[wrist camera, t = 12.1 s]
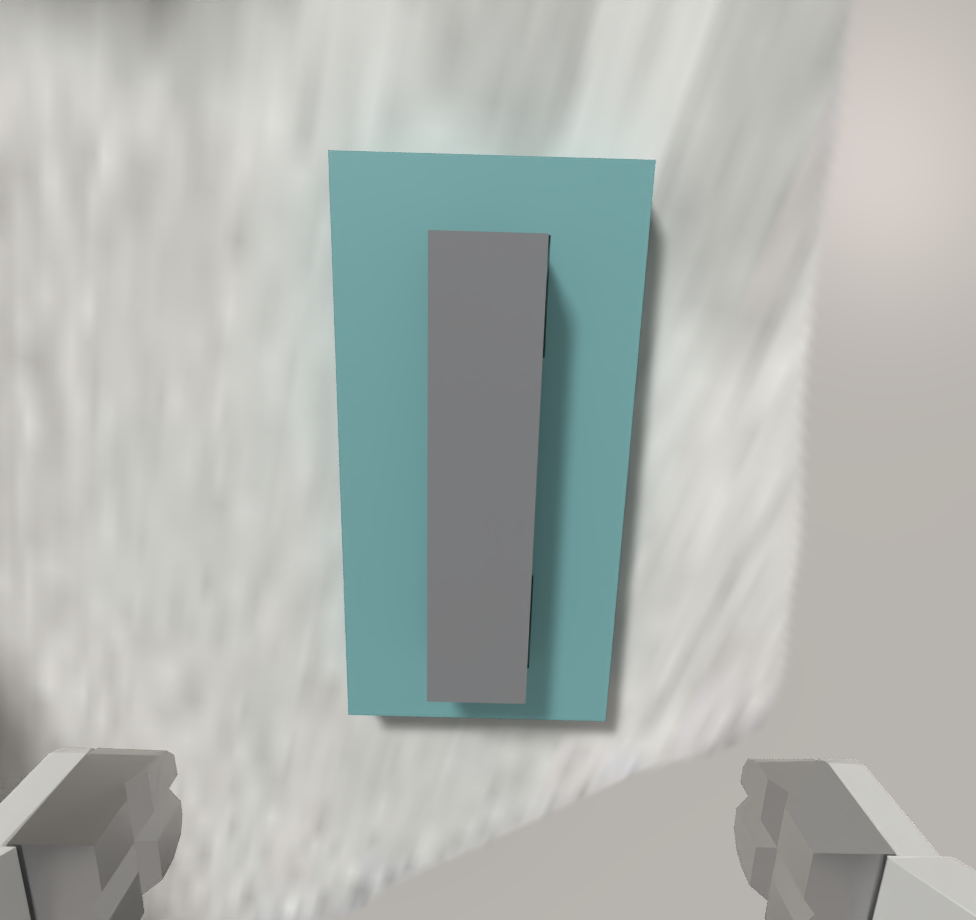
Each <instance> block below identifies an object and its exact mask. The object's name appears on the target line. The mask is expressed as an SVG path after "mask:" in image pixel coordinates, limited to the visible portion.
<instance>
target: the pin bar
mask: <svg viewBox="0 0 976 920" xmlns="http://www.w3.org/2000/svg"><path fill="white" fill-rule="evenodd" d="M548 239H549V233H515V232H480V231H445V230H428V433H427V701H428V702H467V703H507V704H525V702H526V682H527V661H528V641H529V621H530V601H531V581H532V561H533V541H534V521H535V500H536V480H537V460H538V440H539V420H540V400H541V380H542V360H543V339H544V319H545V299H546V279H547V259H548Z"/></svg>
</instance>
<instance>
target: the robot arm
mask: <svg viewBox="0 0 976 920" xmlns="http://www.w3.org/2000/svg"><path fill="white" fill-rule="evenodd" d="M176 776H177V769H176V763H175V757H174V755H173V754H172V753H170V752H168V751H163V750H138V749H112V748H97V749H92V748H68V747H62V748H59V749H57V750H55V751H52V752H50V753H49V754H48V755H47V756H46V757H45V758H44V759H43V760H42V761H41V762H40V763H39V764H38V765H37V766H36V767H35V768H34V769H33V770H32V771H31V772H30V773H29V774H28V775H27V776H26V777H25V778H24V779H23V780H22V782H21V783H20V784H19V785H18V786H17V787H16V788H15V789H14V790H13V791H12V792H11V793H10V794H9V795H8V796H7V797H6V798H5V799H4V800H3V801H2V802H1V803H0V920H140V919H141V917H142V915H143V914H144V907H143V899H142V895H143V894H144V893H145V892H147V891H148V890H149V889H151V888H152V887H153V886H154V885H156V884H157V883H158V882H160V881H161V880H162V879H163V877H164V876H165V874H166V872H167V870H168V868H169V866H170V864H171V862H172V860H173V858H174V855H175V852H176V848H177V845H178V842H179V839H180V835H181V826H182V808H181V801H180V800H179V799H178V798H177V797H176V796H175V795H174V794H173V793H172V791H171V790H170V789H169V787H170V786H171V784H172V783H173V781H174V780H175V778H176ZM741 784H742V786H743V788H744V790H745V791H746V793H747V795H748V797H747V798H746V799H745V800H744V801H743V802H742V803H741V804H740V805H739V806H738V807H737V808H736V816H735V825H734V832H735V840H736V849H737V853H738V856H739V860H740V863H741V867H742V869H743V871H744V874H745V876H746V878H747V880H748V882H749V885H750V886H751V887H752V888H754V889H755V890H756V891H757V892H758V893H759V894H761V895H762V896H763V897H764V898H765V899H766V900H768V902H767V908H766V914H765V919H766V920H976V871H975V870H973V869H972V868H970V867H969V866H967V865H965V864H964V863H962V862H960V861H959V860H957V859H955V858H954V857H941V856H940V855H939V854H938V852H937V851H936V850H935V849H934V848H933V846H932V845H931V844H930V843H929V842H928V840H927V839H926V838H925V837H924V836H923V834H922V833H921V832H920V831H919V830H918V828H916V826H915V825H914V824H913V823H912V821H911V820H910V819H909V818H908V817H907V815H906V814H905V813H904V812H903V811H902V809H901V808H900V807H899V806H898V805H897V804H896V802H895V801H894V800H893V799H892V798H891V796H890V795H889V794H888V793H887V792H886V790H885V789H884V788H883V787H882V786H881V785H880V783H879V782H878V781H877V780H876V779H875V777H874V776H873V775H872V774H871V773H870V771H869V770H868V769H867V768H866V767H865V766H864V765H863V764H862V763H861V762H859V761H857V760H856V759H854V758H831V759H830V758H829V759H828V758H820V759H819V758H818V759H817V760H815V759H748V760H747V761H746V763H745V765H744V766H743V771H742V776H741Z"/></svg>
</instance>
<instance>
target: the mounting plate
mask: <svg viewBox="0 0 976 920" xmlns="http://www.w3.org/2000/svg"><path fill="white" fill-rule="evenodd" d="M328 158H329V186H330V214H331V242H332V270H333V298H334V326H335V353H336V381H337V409H338V437H339V465H340V493H341V521H342V548H343V576H344V604H345V632H346V660H347V688H348V715H376V716H416V717H457V718H497V719H537V720H577V721H606V709H607V698H608V687H609V676H610V665H611V653H612V642H613V631H614V620H615V609H616V597H617V586H618V575H619V564H620V553H621V541H622V530H623V519H624V508H625V497H626V485H627V474H628V463H629V452H630V441H631V429H632V418H633V407H634V396H635V385H636V373H637V362H638V351H639V340H640V329H641V317H642V306H643V295H644V284H645V273H646V261H647V250H648V239H649V228H650V217H651V205H652V194H653V183H654V172H655V161H656V160H639V159H605V158H571V157H538V156H504V155H470V154H436V153H403V152H369V151H335V150H328ZM428 230H445V231H480V232H515V233H549V239H548V259H547V279H546V299H545V319H544V339H543V360H542V380H541V400H540V420H539V440H538V460H537V480H536V500H535V521H534V541H533V561H532V581H531V601H530V621H529V641H528V661H527V682H526V702H525V704H507V703H467V702H428V701H427V433H428Z"/></svg>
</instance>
